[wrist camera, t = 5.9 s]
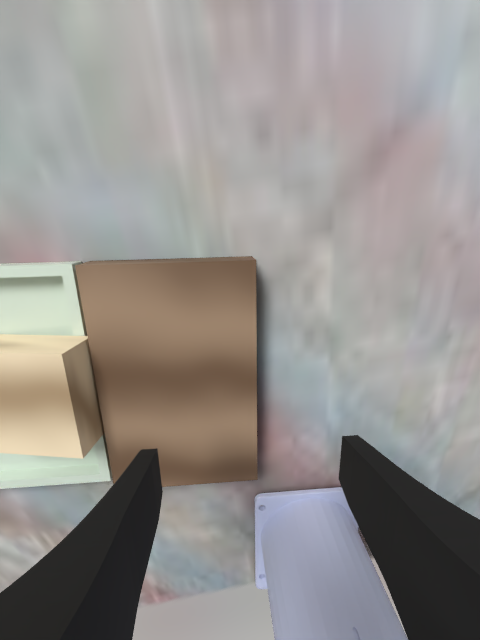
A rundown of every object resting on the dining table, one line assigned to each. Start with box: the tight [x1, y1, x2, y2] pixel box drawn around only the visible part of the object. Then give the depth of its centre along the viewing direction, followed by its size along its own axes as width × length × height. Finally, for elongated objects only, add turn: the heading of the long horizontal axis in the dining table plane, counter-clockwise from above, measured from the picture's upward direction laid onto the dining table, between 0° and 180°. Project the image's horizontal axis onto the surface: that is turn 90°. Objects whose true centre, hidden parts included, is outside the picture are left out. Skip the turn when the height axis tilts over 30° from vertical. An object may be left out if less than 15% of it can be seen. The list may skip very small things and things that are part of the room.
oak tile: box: [0, 334, 105, 459], centre depth 17 cm, size 6×6×2 cm
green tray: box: [0, 261, 112, 489], centre depth 18 cm, size 14×10×1 cm
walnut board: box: [75, 256, 257, 487], centre depth 19 cm, size 14×9×2 cm, turn 1°
